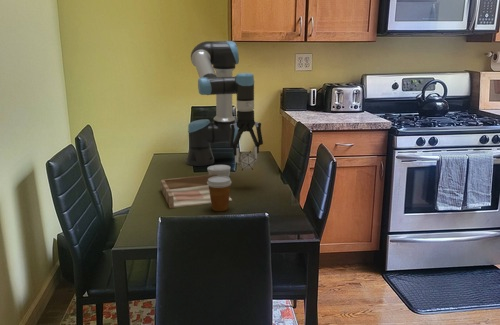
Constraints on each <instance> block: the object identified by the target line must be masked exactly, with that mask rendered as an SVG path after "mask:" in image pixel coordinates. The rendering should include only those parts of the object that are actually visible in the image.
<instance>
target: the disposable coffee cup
mask: <svg viewBox="0 0 500 325" xmlns="http://www.w3.org/2000/svg"><path fill="white" fill-rule="evenodd" d="M207 184H208V186H209V192H210V198H211V203H210V204H211V209H212V210H213V211H215V212H223V211H228V209H229V204H230V201H229V197H230V195H231V194H230V192H231V186H232V180H231V178H230V176H229V177H226V176H215V177H211V178H209V179H208V182H207Z"/></svg>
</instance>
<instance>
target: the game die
mask: <svg viewBox="0 0 500 325" xmlns="http://www.w3.org/2000/svg"><path fill="white" fill-rule="evenodd" d="M238 154H239V163H237V164H238V165H239V167H240V168H241V171H243V170H250V169H251V170H254V168H253V166H254V164H255V162H256V161H255V160H257V161H258V158H257V159H254V157H253V155H252V153H251V150H249V152H242V153H241V151H238ZM234 162H235V161H234ZM235 163H236V162H235Z"/></svg>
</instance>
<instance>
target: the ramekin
mask: <svg viewBox="0 0 500 325" xmlns="http://www.w3.org/2000/svg"><path fill="white" fill-rule="evenodd" d="M206 169H207V173H208V175H212V174H217V176H226V177H229V178H230V173H231V169H232V168H231V166H230V165H227V164H214V165H213V164H212V165H210V166H209V165H208V166H207V168H206Z"/></svg>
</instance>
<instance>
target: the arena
mask: <svg viewBox="0 0 500 325" xmlns="http://www.w3.org/2000/svg"><path fill="white" fill-rule="evenodd" d="M215 176H217V174H212V175H209V174H204V175H193V176H183V177H175V178H167V179H166V178H164V179H160V190H161V191H160V192H161V193H162V194H163V197H164V199H165V201H166V204H168V207H169V209H175V208H176V209H177V208H183V207H184V208H185V207H192V206H200V205H208V204H211V198H210V192H209V186H208V184H207V182H208V179H209V178H211V177H215ZM229 202H233V199H232V198H231V196H229Z"/></svg>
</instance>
